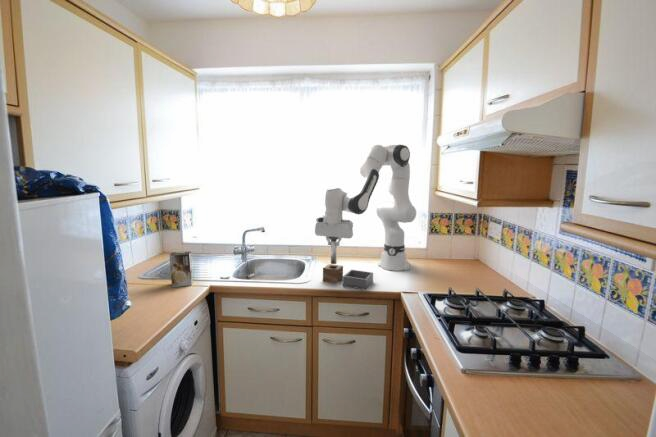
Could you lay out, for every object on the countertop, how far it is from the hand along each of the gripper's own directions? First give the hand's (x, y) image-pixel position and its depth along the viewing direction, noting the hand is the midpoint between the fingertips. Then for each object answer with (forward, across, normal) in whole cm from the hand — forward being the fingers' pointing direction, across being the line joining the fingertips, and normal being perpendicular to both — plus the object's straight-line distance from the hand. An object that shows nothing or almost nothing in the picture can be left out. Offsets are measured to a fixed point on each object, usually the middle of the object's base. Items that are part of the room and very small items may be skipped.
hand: (333, 245), depth 163 cm
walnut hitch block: (+19, 0, 0) cm, 19 cm away
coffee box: (+18, +65, +39) cm, 78 cm away
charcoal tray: (+19, -14, 0) cm, 23 cm away
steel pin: (+10, 0, 0) cm, 10 cm away
